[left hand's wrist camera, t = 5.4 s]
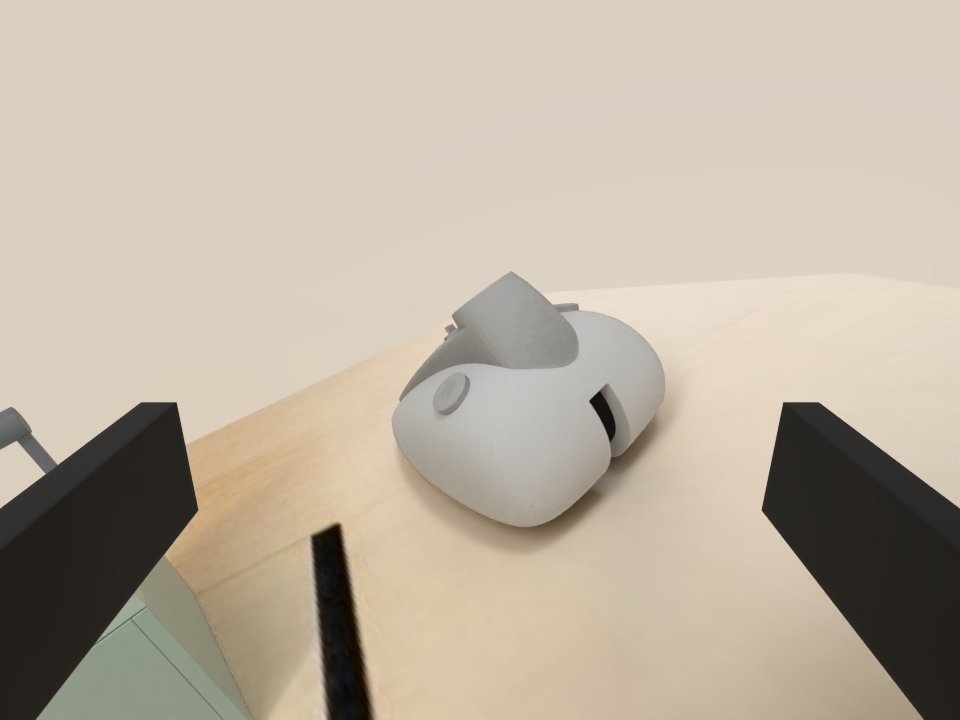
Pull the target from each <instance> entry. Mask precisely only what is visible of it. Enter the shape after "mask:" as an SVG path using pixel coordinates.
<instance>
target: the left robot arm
mask: <svg viewBox="0 0 960 720" xmlns="http://www.w3.org/2000/svg"><path fill="white" fill-rule="evenodd" d="M197 511H198V506H197V501H196V496H195V491H194V486H193V481H192V476H191V471H190V466H189V462H188V457H187V452H186V447H185V442H184V437H183V432H182V427H181V422H180V417H179V412H178V407H177V403H176V402H142V403H140V404H138V405H137V406H136V407H134V408H133V409H132V410H131V411H129V412H128V413H127V414H125V415H124V416H123V417H121V418H120V419H119V420H117V421H116V422H115V423H113V424H112V425H111V426H109V427H108V428H107V429H105V430H104V431H103V432H101V433H100V434H99V435H97V436H96V437H95V438H93V439H92V440H91V441H89V442H88V443H87V444H85V445H84V446H83V447H81V448H80V449H79V450H77V451H76V452H75V453H73V454H72V455H71V456H69V457H68V458H67V459H65V460H64V461H63V462H61V463H60V464H59V465H57V466H56V467H55V468H53V469H52V470H51V471H49V472H48V473H47V474H46V475H44V476H43V477H42V478H40V479H39V480H38V481H36V482H35V483H34V484H32V485H31V486H30V487H28V488H27V489H26V490H24V491H23V492H22V493H20V494H19V495H18V496H16V497H15V498H14V499H12V500H11V501H10V502H8V503H7V504H6V505H4V506H3V507H2V508H0V720H36V719H37V718H38V716H39V715H40V714H41V713H42V711H43V710H44V709H45V707H46V706H47V705H48V704H49V702H50V701H51V700H52V698H53V697H54V696H55V695H56V693H57V692H58V691H59V689H60V688H61V687H62V685H63V684H64V683H65V682H66V680H67V679H68V678H69V676H70V675H71V674H72V673H73V671H74V670H75V669H76V667H77V666H78V665H79V664H80V662H81V661H82V660H83V658H84V657H85V656H86V655H87V653H88V652H89V651H90V649H91V648H92V647H93V646H94V644H95V643H96V642H97V640H98V639H99V638H100V636H101V635H102V634H103V633H104V631H105V630H106V629H107V627H108V626H109V625H110V624H111V622H112V621H113V620H114V618H115V617H116V616H117V615H118V613H119V612H120V611H121V609H122V608H123V607H124V606H125V604H126V603H127V602H128V600H129V599H130V598H131V597H132V595H133V594H134V593H135V591H136V590H137V589H138V587H139V586H140V585H141V584H142V582H143V581H144V580H145V578H146V577H147V576H148V575H149V573H150V572H151V571H152V569H153V568H154V567H155V566H156V564H157V563H158V562H159V560H160V559H161V558H162V557H163V555H164V554H165V553H166V551H167V550H168V549H169V548H170V546H171V545H172V544H173V542H174V541H175V540H176V538H177V537H178V536H179V535H180V533H181V532H182V531H183V529H184V528H185V527H186V526H187V524H188V523H189V522H190V520H191V519H192V518H193V517H194V515H195V514H196V513H197ZM762 511H763V513H764V514H765V515H766V517H767V518H768V519H769V520H770V522H771V523H772V524H773V526H774V527H775V528H776V529H777V531H778V532H779V533H780V535H781V536H782V537H783V538H784V540H785V541H786V542H787V544H788V545H789V546H790V548H791V549H792V550H793V551H794V553H795V554H796V555H797V557H798V558H799V559H800V560H801V562H802V563H803V564H804V566H805V567H806V568H807V569H808V571H809V572H810V573H811V575H812V576H813V577H814V578H815V580H816V581H817V582H818V584H819V585H820V586H821V587H822V589H823V590H824V591H825V593H826V594H827V595H828V597H829V598H830V599H831V600H832V602H833V603H834V604H835V606H836V607H837V608H838V609H839V611H840V612H841V613H842V615H843V616H844V617H845V618H846V620H847V621H848V622H849V624H850V625H851V626H852V627H853V629H854V630H855V631H856V633H857V634H858V635H859V636H860V638H861V639H862V640H863V642H864V643H865V644H866V646H867V647H868V648H869V649H870V651H871V652H872V653H873V655H874V656H875V657H876V658H877V660H878V661H879V662H880V664H881V665H882V666H883V667H884V669H885V670H886V671H887V673H888V674H889V675H890V676H891V678H892V679H893V680H894V682H895V683H896V684H897V685H898V687H899V688H900V689H901V691H902V692H903V693H904V695H905V696H906V697H907V698H908V700H909V701H910V702H911V704H912V705H913V706H914V707H915V709H916V710H917V711H918V713H919V714H920V715H921V716H922V718H923V719H924V720H960V508H958V507H957V506H956V505H954V504H953V503H952V502H950V501H949V500H948V499H946V498H945V497H944V496H942V495H941V494H940V493H938V492H937V491H936V490H934V489H933V488H932V487H930V486H929V485H928V484H926V483H925V482H924V481H922V480H921V479H920V478H918V477H917V476H916V475H914V474H913V473H912V472H911V471H909V470H908V469H907V468H905V467H904V466H903V465H901V464H900V463H899V462H897V461H896V460H895V459H893V458H892V457H891V456H889V455H888V454H887V453H885V452H884V451H883V450H881V449H880V448H879V447H877V446H876V445H875V444H873V443H872V442H871V441H869V440H868V439H867V438H865V437H864V436H863V435H861V434H860V433H859V432H857V431H856V430H855V429H853V428H852V427H851V426H849V425H848V424H847V423H845V422H844V421H843V420H841V419H840V418H839V417H838V416H836V415H835V414H834V413H832V412H831V411H830V410H828V409H827V408H826V407H824V406H823V405H822V404H820V403H819V402H783V407H782V412H781V417H780V422H779V427H778V432H777V437H776V442H775V447H774V452H773V457H772V461H771V466H770V471H769V476H768V481H767V486H766V491H765V496H764V501H763V506H762Z"/></svg>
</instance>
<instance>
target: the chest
mask: <svg viewBox="0 0 960 720" xmlns="http://www.w3.org/2000/svg"><path fill="white" fill-rule="evenodd" d="M140 586H141V589H142V592H143V596H144V599H145V602H146V607H144V608H143V609H142V610H140V611H139V612H137V613H136V614H135V615H133V616H132V617H131V618H129V619H128V620H127V621H125V622H124V623H123V624H121V625H120V626H118V627H117V628H116V629H114V630H113V631H112V632H110V633H109V634H108V635H106V636H105V637H103V638H102V639H101V640H99V641H98V642H97V643H95V644H94V646H93V647H92V648H91V649H90V651H89V652H88V653H87V655H86V656H85V657H84V658H83V660H82V661H81V662H80V664H79V665H78V666H77V667H76V669H75V670H74V671H73V673H72V674H71V675H70V676H69V678H68V679H67V680H66V682H65V683H64V684H63V685H62V687H61V688H60V689H59V691H58V692H57V693H56V695H55V696H54V697H53V698H52V700H51V701H50V702H49V704H48V705H47V706H46V707H45V709H44V710H43V711H42V713H41V714H40V715H39V716H38V718H37V719H36V720H253V718H252V716H251V714H250V712H249V710H248V708H247V706H246V703H245V701H244V699H243V697H242V695H241V693H240V691H239V689H238V686H237V684H236V682H235V680H234V678H233V676H232V674H231V672H230V669H229V667H228V665H227V663H226V661H225V659H224V657H223V655H222V652H221V650H220V648H219V646H218V644H217V642H216V640H215V638H214V635H213V633H212V631H211V629H210V627H209V625H208V623H207V621H206V619H205V616H204V614H203V612H202V610H201V608H200V606H199V604H198V602H197V599H196V597H195V595H194V593H193V591H192V589H191V588H190V587H189V585H188V584H187V583H186V582H185V580H184V579H183V578H182V577H181V576H180V574H179V573H178V572H177V571H176V570H175V568H174V567H173V566H172V565H171V563H170V562H169V561H168V560H167V559H166V557H165V556H164V555H163V557H162V558H161V559H160V560H159V562H158V563H157V564H156V566H155V567H154V568H153V569H152V571H151V572H150V573H149V575H148V576H147V577H146V578H145V580H144V581H143V582H142V584H141V585H140Z"/></svg>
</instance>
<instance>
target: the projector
mask: <svg viewBox="0 0 960 720" xmlns="http://www.w3.org/2000/svg"><path fill="white" fill-rule="evenodd" d="M578 310H579V308H578V304H575V303H567V304H557V305H552V304H551V303H550V302H549V301H548V300H547V299H546V298H545V297H544V296H543V295H542V294H541V293H540V292H538V291H537V290H536V289H535V288H534V287H533V286H531V285H530V284H529V283H528V282H526V281H525V280H524V279H522V278H521V277H519V276H518V275H516V274H515V273H513V272H509V273H508V274H506V275H504V276H503V277H501V278H500V279H498V280H497V281H496V282H494V283H493V284H491V285H490V286H488V287H487V288H486V289H484V290H483V291H482V292H480V293H479V294H477V295H476V296H475V297H473V298H472V299H471V300H470V301H468V302H467V303H466V304H464V305H463V306H462V307H461V308H459V309H458V310H457V311H456V312H455V313H453V314H452V317H453V319H454V321H455V323H456V324H457V326H458V328H457V329H456V328H455V327H454V325H453V324H451V325H449V326H447V327H446V328H445V330H446V331H447V332H448V334H449V335H448V336H446V337H445V338H444V340H445V342H444V343H443V344H442V345H441V346H439V347H438V348H437V349H436V350H435V351H434V353H433V354H432V355H431V356H430V357H429V358H428V359H427V360H426V361H425V362H424V363H423V365H422V366H421V367H420V368H419V369H418V371H417V372H416V373H415V375H414V376H413V377H412V379H411V380H410V382H409V383H408V384H407V386H406V387H405V389H404V391H403V392H402V394H401V396H400V403H399V404H398V406H397V407H396V409H395V411H394V413H393V416H392V428H393V432H394V436H395V439H396V442H397V444H398V446H399V448H400V450H401V451H402V453H403V455H404V456H405V457H406V459H407V460H408V461H409V463H410V464H411V465H412V466H413V467H414V468H415V469H416V470H417V472H418V473H419V474H421V475H422V476H423V477H424V478H425V479H426V480H427V481H429V482H430V483H431V484H432V485H434V486H435V487H436V488H438V489H439V490H441V491H442V492H444V493H445V494H447V495H448V496H450V497H451V498H453V499H454V500H456V501H458V502H460V503H461V504H463V505H465V506H466V507H468V508H470V509H472V510H474V511H476V512H478V513H480V514H482V515H484V516H486V517H489V518H491V519H493V520H496V521H499V522H502V523H505V524H508V525H512V526H517V527H532V526H538V525H541V524H544V523H546V522H548V521H550V520H552V519H554V518H556V517H557V516H559V515H560V514H562V513H563V512H564V511H566V510H567V509H568V508H569V507H571V506H572V505H573V504H574V503H575V502H576V501H577V500H579V499H580V498H581V497H582V496H583V495H584V494H585V493H586V492H587V491H588V490H589V489H590V488H591V487H592V486H593V485H594V484H595V483H596V482H597V481H598V479H599V478H600V477H601V476H602V475H603V474H604V473H605V472H606V470H607V468H608V466H609V464H610V459H611V457H617V456H620V455H621V454H623V453H624V452H625V450H626V449H627V448H628V447H629V446H630V445H631V444H632V443H633V442H634V440H635V439H636V438H637V437H638V436H639V434H640V433H641V432H642V431H643V430H644V429H645V427H646V426H647V425H648V423H649V422H650V421H651V419H652V418H653V417H654V415H655V413H656V412H657V410H658V408H659V407H660V405H661V402H662V400H663V397H664V392H665V377H664V372H663V368H662V365H661V362H660V360H659V358H658V356H657V354H656V353H655V351H654V350H653V348H652V347H651V346H650V344H649V343H648V342H647V341H646V340H645V339H644V338H643V337H642V336H641V335H640V334H639V333H638V332H636V331H635V330H634V329H633V328H632V327H630V326H629V325H627V324H625V323H623V322H622V321H620V320H618V319H616V318H613V317H610V316H607V315H604V314H601V313H596V312H590V311H578Z"/></svg>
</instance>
